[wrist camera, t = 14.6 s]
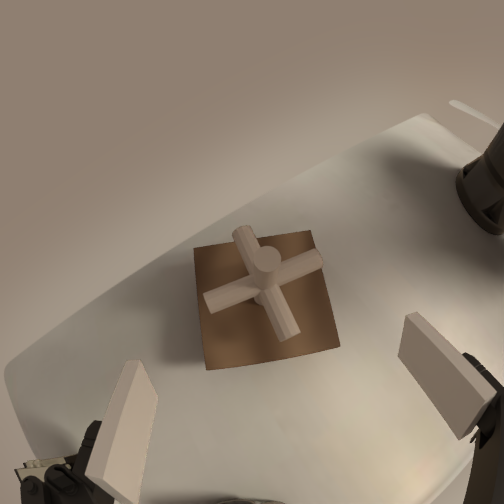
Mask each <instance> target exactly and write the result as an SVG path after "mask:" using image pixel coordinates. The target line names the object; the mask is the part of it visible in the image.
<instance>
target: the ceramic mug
mask: <svg viewBox="0 0 504 504" xmlns="http://www.w3.org/2000/svg"><path fill="white" fill-rule="evenodd" d="M216 504H256V503H255V502H253V501H251V500H245V499H237V500H229V501H224V502H220V503H216ZM261 504H285V503H282V502H277V501H271V502H266V503H261Z"/></svg>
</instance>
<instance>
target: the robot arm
mask: <svg viewBox="0 0 504 504" xmlns="http://www.w3.org/2000/svg"><path fill="white" fill-rule="evenodd" d="M456 187H457V191H458V194H459V197H460V199H461V201H462V203H463V205H464V207H465V208H466V210H467V211H468V213H469V214H470V215H471V217H472V218H473V219H474V220H475V221H476V222H477V223H478V224H479V225H480V226H481V227H482V228H483V229H485V230H486V231H488V232H490V233H492V234H495V235H501V234H503V233H504V123H503V125H502V126H501V128H500V129H499V131H498V133H497V134H496V136H495V137H494V139H493V140H492V142H491V143H490V145H489V146H488V148H487V149H486V151H485V152H484V154H483V155H481V156H480V157H478V158H477V159H475V160H473V161H472V162H470V163H469V164H467V165H466V166H464V167H463V168H462V170H461V171H460V173H459V174H458V175H457V178H456ZM398 357H399V359H400V360H401V361H402V362H403V364H404V365H405V366H406V368H407V369H408V370H409V372H410V373H411V374H412V376H413V377H414V378H415V380H416V381H417V382H418V384H419V385H420V386H421V388H422V389H423V390H424V392H425V393H426V395H427V396H428V397H429V399H430V400H431V401H432V403H433V404H434V406H435V407H436V408H437V410H438V411H439V413H440V414H441V415H442V417H443V418H444V420H445V421H446V423H447V424H448V425H449V427H450V428H451V430H452V431H453V433H454V434H455V436H456V437H457V439H458V440H460V439H462V438H464V437H465V436H467V435H468V434H470V433H471V432H472V430H473V429H474V427H475V426H476V425H477V426H478V428H479V429H478V430H477V432H476V433H475V434H474V436H473V437H472V438H471V441H470V443H472V442H473V441H474V439H475V438H476V441H475V450H474V457H473V464H472V468H471V474H470V478H469V483H468V487H467V491H466V495H465V499H464V502H463V504H504V387H503V386H502V385H501V384H500V383H499V382H498V381H497V380H496V379H495V378H494V377H493V375H492V374H491V373H490V372H489V371H488V370H486V368H485V367H484V366H483V365H481V363H480V362H479V361H478V360H477V359H476V358H475V357H473V356H472V355H470V354H468V353H466V352H465V353H463V354H461V353H460V352H459V351H458V350H457V349H456V348H455V347H454V346H453V345H452V344H451V343H450V342H449V341H447V340H446V339H445V338H444V337H443V336H442V335H441V334H440V333H439V332H438V331H437V330H436V329H435V328H434V327H433V326H432V325H431V324H430V323H429V322H428V321H427V320H425V319H424V318H423V317H422V316H421V315H420V314H419V313H418V312H415V313H412V314H408V315H406V316H405V322H404V328H403V333H402V338H401V343H400V348H399V352H398ZM157 402H158V396H157V394H156V392H155V390H154V388H153V386H152V384H151V382H150V380H149V377H148V375H147V373H146V371H145V369H144V367H143V364H142V362H141V360H126V363H125V365H124V368H123V370H122V372H121V375H120V377H119V380H118V382H117V385H116V387H115V390H114V392H113V395H112V397H111V400H110V402H109V405H108V408H107V410H106V413H105V416H104V418H103V421H97V420H94V421H93V422H92V424H91V425H90V426H89V427H88V428H87V431H86V433H85V436H84V439H83V441H82V444H81V447H80V449H79V452H78V455H77V458H76V461H75V463H74V466H73V469H72V471H71V470H70V469H68V468H67V467H66V466H64V465H62V464H54V465H52V466H50V467H48V469H47V470H46V471H45V474H44V482H43V481H41V480H40V479H39V478H37V477H36V476H32V475H30V476H27V477H25V478H24V479H23V480H22V482H21V487H20V489H21V503H22V504H114V499H116V500H117V501H119V502H120V503H121V504H138V503H139V497H140V490H141V484H142V478H143V472H144V467H145V461H146V456H147V450H148V445H149V440H150V435H151V430H152V425H153V421H154V416H155V411H156V407H157Z"/></svg>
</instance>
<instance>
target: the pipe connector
mask: <svg viewBox="0 0 504 504" xmlns="http://www.w3.org/2000/svg"><path fill="white" fill-rule="evenodd" d="M232 236H233V238H234V241H235V243H236V245H237V248H238V250H239V252H240V254H241V257H242V259H243V261H244V263H245V266H246V268H247V270H248V272H249V275H248V276H246V277H243V278H241V279H238V280H236V281H233V282H231V283H228V284H226V285H223V286H221V287H218V288H216V289H213V290H211V291H208V292H205V293H203V296H204V299H205V302H206V304H207V306H208V309H209V311H210V313H211V314H212V313H215V312H218V311H220V310H223V309H225V308H228V307H230V306H233V305H235V304H238V303H240V302H243V301H245V300H247V299H250V298H252V297H254V300H255V302H256V303H257V304H259V305H263V306H264V308H265V310H266V313H267V315H268V317H269V319H270V321H271V324H272V326H273V328H274V330H275V333H276V335H277V337H278V339H279V341H280V342H282V341H284V340H287V339H289V338H291V337H293V336H295V335H297V334H299V333H301V332H300V330H299V327H298V325H297V323H296V321H295V319H294V317H293V315H292V313H291V310H290V308H289V306H288V304H287V302H286V300H285V298H284V296H283V293H282V291H281V289H280V287H279V286H281V285H283V284H286V283H288V282H290V281H293V280H295V279H297V278H300V277H302V276H304V275H306V274H309V273H311V272H313V271H316V270H318V269H320V268H322V267H323V260H322V257H321V255H320V253H319V252H318V250H317V249H315V248H314V249H312V250H309V251H307V252H304V253H302V254H300V255H297V256H295V257H292V258H290V259H287V260H285V261H283V262H281V255H280V253H279V251H278V250H277V249H275V248H274V247H271V246H263V247H260V245H259V243H258V241H257V239H256V237H255V235H254V233H253V231H252V229H251V227H250V226H247V225H245V226H241V227H239V228H237V229H236V230H235V231H234V232H233V234H232Z"/></svg>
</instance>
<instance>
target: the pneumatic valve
mask: <svg viewBox="0 0 504 504" xmlns="http://www.w3.org/2000/svg"><path fill="white" fill-rule="evenodd" d="M77 455H78V454H74V455H69V456H64V457H58V458H52V459H45V460H40V459H38V460H34V461H33V460H30V461H28V462H26V463H23V465H24V467H25V468H21V469H15V472H16V475H17V477H18V479H19V481H20V483H21V482H22V480H23V479H24V478H25V477H27V476H30V475H32V476H36V477H37V478H39V479H40V480H41V481H43V482H44V474H45V471H46V470H47V469H48V467H50V466H52V465H54V464H62V465H64V466H66V467H67V468H68V469H70V470H71V471H72V469H73V466H74V463H75V461H76V458H77Z"/></svg>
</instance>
